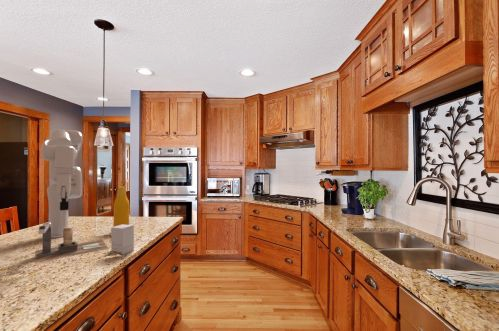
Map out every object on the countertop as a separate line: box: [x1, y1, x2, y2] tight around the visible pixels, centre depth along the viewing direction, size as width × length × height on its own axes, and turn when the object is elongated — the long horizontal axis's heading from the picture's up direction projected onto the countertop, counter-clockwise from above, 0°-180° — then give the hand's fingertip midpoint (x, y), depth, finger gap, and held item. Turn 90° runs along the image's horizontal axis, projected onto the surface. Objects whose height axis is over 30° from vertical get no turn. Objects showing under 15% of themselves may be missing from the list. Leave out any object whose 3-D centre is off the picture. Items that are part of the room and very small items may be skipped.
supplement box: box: [110, 224, 135, 255], centre depth 122 cm, size 7×7×13 cm
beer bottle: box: [113, 186, 130, 227], centre depth 161 cm, size 9×9×29 cm
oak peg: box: [62, 226, 74, 246], centre depth 120 cm, size 4×4×11 cm
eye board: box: [34, 227, 110, 263], centre depth 121 cm, size 20×28×14 cm
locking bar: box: [38, 221, 51, 235], centre depth 109 cm, size 16×3×3 cm, turn 33°
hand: (64, 209), depth 117 cm, fingers closed
